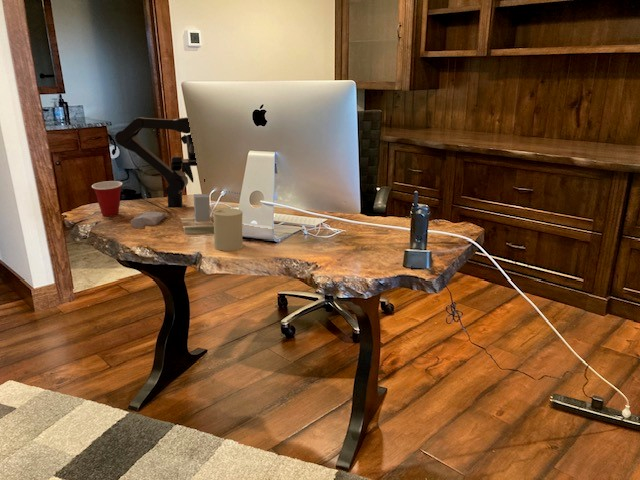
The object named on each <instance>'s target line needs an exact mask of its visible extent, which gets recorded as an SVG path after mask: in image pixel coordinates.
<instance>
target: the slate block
mask: <svg viewBox="0 0 640 480" xmlns="http://www.w3.org/2000/svg"><path fill="white" fill-rule="evenodd" d="M193 211H194V215H193V217H195V221H196V222H200V221H210V217H211V212H210V196H209V194H208V193H201V194H200V193H196V194H193Z"/></svg>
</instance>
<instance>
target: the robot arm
mask: <svg viewBox="0 0 640 480" xmlns="http://www.w3.org/2000/svg"><path fill="white" fill-rule="evenodd" d="M187 117H188V116H187ZM187 117H180V118H179V117H178V118H172V119H169V118H156V117H155V118H154V117H153V118H152V117H143V116H139V117H135V118H134V119H133V120H132V122H130V124H128V125H127V126H126V127H125V128H123V129H122V130H119V131H117V132H116V134H115V136H114V139H115V140H114V141H115V142H116V144H118V145H119V146H120V147H122V148H124V149H125V150H128V151H131V152H133V153H134V154H136V155H137V156H138V157H139V158H140V159H142V160H143V161H144V162H145V163H147V165H149V166H150V167H151V168H153V169H154V170H155V171H156V172H158V173H159V174H160V175H161V176H162V177H163V179H164V180H165V182H166V183H167V184H168V186H167V187H166V188H165V189H164V192H165V194H166V196H167V206H165V207H164V208H165V209H168V208H169V209H170V208H186V207H187V205H186V204H183V191H184V189H185V188H186V186H187V185H188V184H189V180H190V181H191V183H194V176H193V175H194V174H193V171H192V167H198V166H197V163H196V158H195V153H194V146H193V142H192V138H191V134H192V133H190V127H189V122H188V118H187ZM143 129H159V130H172V131H176V132H178V133H183V134H184V135H182V136H181V137H180V141H181V142H182V143H183V144H184V145H185V144H186V150H187V151H186V152H187V158H183V157H182V156H172V157H171V158H170V166H169V165H168V164H167V163H165V162H164V161H163V160H162V159H160V158H159V156H157V154H155V153H153V152H152V151H151V150H150V149H148V147H146V146H145V145H144V144H143V143H142V141H141V140H140V138H139V137H138V136H137V135H138V134H139V133H140V132H141V131H142V130H143ZM188 178H189V179H188ZM205 182H206V179H204V182H203V183H205Z"/></svg>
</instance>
